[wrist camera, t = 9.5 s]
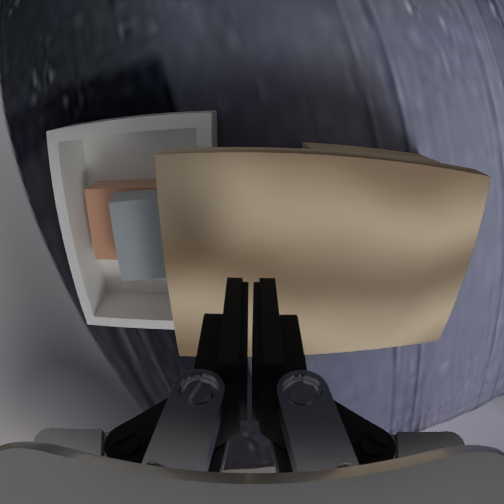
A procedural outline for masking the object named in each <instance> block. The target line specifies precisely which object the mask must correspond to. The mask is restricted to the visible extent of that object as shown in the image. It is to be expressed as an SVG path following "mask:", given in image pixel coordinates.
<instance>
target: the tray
mask: <svg viewBox="0 0 504 504" xmlns="http://www.w3.org/2000/svg"><path fill="white" fill-rule="evenodd" d="M46 134H47V145H48V154H49V163H50V171H51V178H52V184H53V191H54V197H55V202H56V208H57V213H58V218H59V223H60V228H61V232H62V237H63V241H64V245H65V250H66V254H67V258H68V261H69V265H70V269H71V273H72V276H73V280H74V283H75V287H76V290H77V293H78V297H79V300H80V303H81V306H82V309H83V312H84V315H85V318H86V321H87V324H90V325H102V326H116V327H132V328H150V329H175V328H174V323H173V317H172V310H171V304H170V297H169V291H168V284H167V278H157V279H145V280H133V281H122V277H121V273H120V268H119V263H118V260H108V259H95V254H94V249H93V243H92V238H91V232H90V226H89V220H88V213H87V206H86V199H85V191H84V189H86V188H87V187H89V186H90V185H92V184H93V183H95V182H96V181H111V180H136V179H156V168H155V154H157V153H158V152H160V151H161V150H163V149H176V148H203V147H217V110H215V111H188V112H171V113H158V114H146V115H136V116H127V117H119V118H111V119H104V120H97V121H91V122H85V123H79V124H74V125H69V126H65V127H61V128H57V129H53V130H50V131H46Z"/></svg>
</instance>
